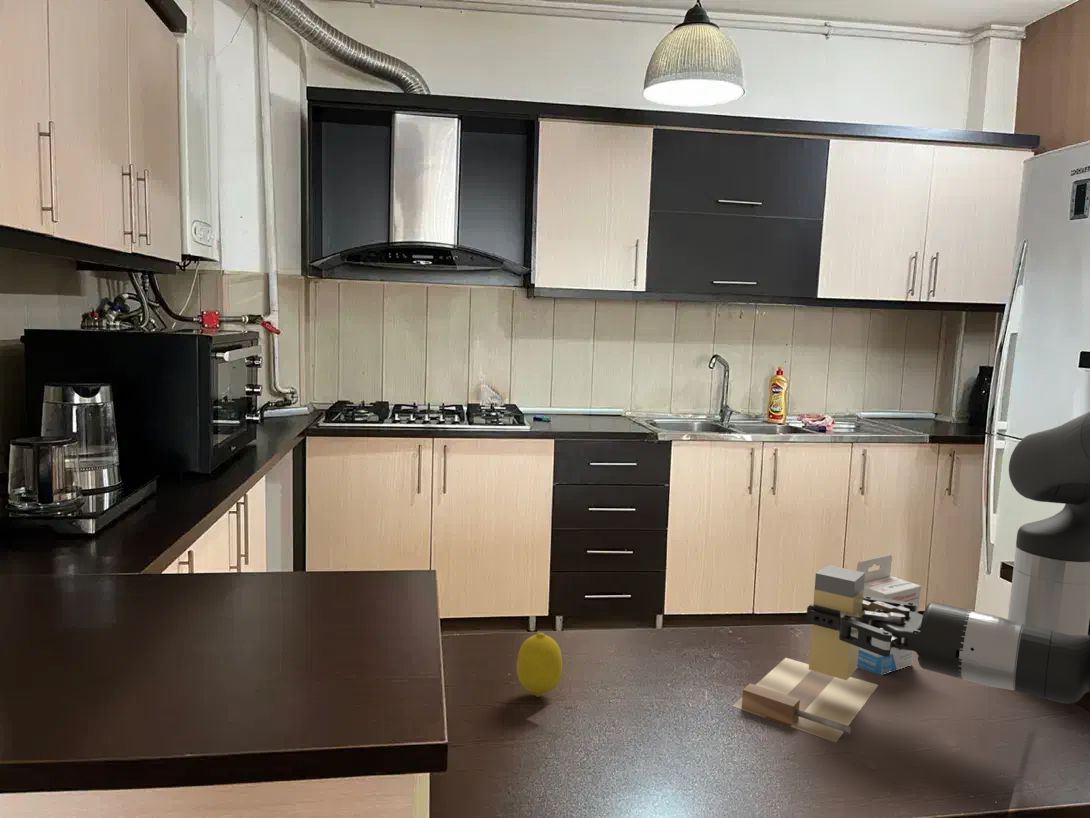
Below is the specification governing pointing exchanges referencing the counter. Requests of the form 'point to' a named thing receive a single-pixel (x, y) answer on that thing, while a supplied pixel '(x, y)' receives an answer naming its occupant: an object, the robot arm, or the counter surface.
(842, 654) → the yellow block grey top
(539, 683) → the lemon
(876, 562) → the ink box
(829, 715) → the plywood panel
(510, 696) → the counter surface
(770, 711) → the awl
